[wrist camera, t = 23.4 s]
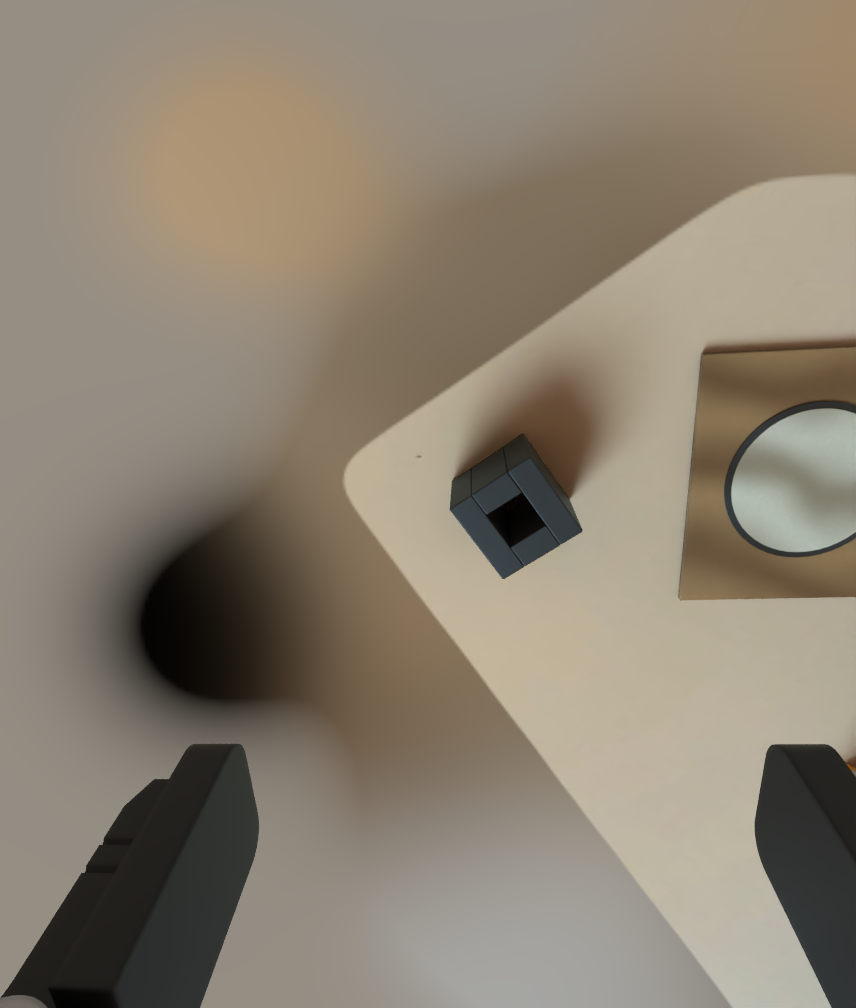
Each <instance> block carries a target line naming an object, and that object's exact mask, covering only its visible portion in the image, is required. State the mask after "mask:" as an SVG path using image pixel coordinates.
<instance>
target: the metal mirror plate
mask: <svg viewBox="0 0 856 1008" xmlns="http://www.w3.org/2000/svg"><path fill="white" fill-rule="evenodd" d="M817 597H856V346H846V347H826V348H806V349H786V350H767V351H747V352H727V353H707V354H701V363H700V373H699V384H698V394H697V405H696V415H695V426H694V436H693V447H692V458H691V468H690V479H689V489H688V500H687V510H686V521H685V531H684V542H683V552H682V563H681V573H680V584H679V595H678V598H679V599H680V600H716V599H767V598H817Z"/></svg>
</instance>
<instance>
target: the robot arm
mask: <svg viewBox="0 0 856 1008" xmlns="http://www.w3.org/2000/svg"><path fill="white" fill-rule="evenodd" d="M258 833H259V819H258V812H257V807H256V803H255V798H254V793H253V788H252V783H251V778H250V773H249V769H248V764H247V759H246V754H245V751H244V748H243V747H242V745H240V744H193V745H191V746H189V748H188V749H187V750H186V751H185V753H184V755H183V756H182V758H181V760H180V761H179V763H178V765H177V767H176V768H175V770H174V772H173V773H172V775H171V777H170V779H167V780H166V779H154V780H153V781H152V782H151V783H150V784H149V785H147V786H146V787H145V788H144V789H143V790H142V791H141V792H140V793H139V794H137V795H136V796H135V797H134V798H133V799H132V800H131V801H130V802H129V803H127V804H126V805H125V806H124V808H123V809H122V811H121V812H120V814H119V815H118V817H117V818H116V820H115V822H114V823H113V825H112V826H111V828H110V830H109V831H108V833H107V834H106V836H105V837H104V842H103V845H99V847H98V848H97V850H96V851H95V853H94V855H93V856H92V858H91V859H90V861H89V862H88V864H87V865H86V872H85V873H81V875H80V876H79V878H78V880H77V881H76V883H75V885H74V886H73V887H72V889H71V891H70V892H69V894H68V895H67V897H66V898H65V900H64V902H63V903H62V905H61V906H60V908H59V909H58V911H57V912H56V914H55V916H54V917H53V919H52V920H51V922H50V924H49V925H48V927H47V928H46V930H45V931H44V933H43V935H42V936H41V938H40V940H39V941H38V942H37V944H36V945H35V947H34V949H33V950H32V952H31V953H30V955H29V956H28V958H27V959H26V961H25V963H24V964H23V966H22V967H21V969H20V971H19V972H18V974H17V975H16V977H15V979H14V980H13V981H12V983H11V984H10V986H9V987H8V989H7V990H6V991H5V993H4V994H3V995H2V997H1V998H0V1008H200V1006H201V1003H202V1000H203V998H204V995H205V992H206V989H207V987H208V984H209V981H210V978H211V976H212V973H213V970H214V967H215V965H216V962H217V959H218V956H219V954H220V951H221V948H222V945H223V943H224V940H225V937H226V934H227V932H228V929H229V926H230V923H231V921H232V917H233V915H234V912H235V910H236V907H237V904H238V901H239V899H240V896H241V893H242V890H243V887H244V885H245V882H246V879H247V877H248V874H249V871H250V868H251V866H252V863H253V860H254V857H255V852H256V848H257V842H258ZM755 837H756V843H757V848H758V852H759V856H760V859H761V862H762V865H763V867H764V869H765V872H766V874H767V876H768V878H769V880H770V882H771V884H772V886H773V888H774V890H775V892H776V894H777V896H778V898H779V900H780V902H781V904H782V907H783V909H784V911H785V913H786V915H787V917H788V919H789V921H790V923H791V925H792V927H793V929H794V931H795V933H796V935H797V937H798V939H799V941H800V943H801V946H802V948H803V950H804V952H805V954H806V956H807V958H808V960H809V962H810V964H811V966H812V968H813V970H814V972H815V974H816V976H817V978H818V980H819V982H820V985H821V987H822V989H823V991H824V993H825V995H826V997H827V999H828V1001H829V1003H830V1005H831V1007H832V1008H856V776H855V775H854V774H853V772H852V771H851V770H850V768H849V767H848V766H847V764H846V763H845V762H844V760H843V759H842V758H841V756H840V755H839V754H838V753H837V751H836V750H835V749H833V748H832V747H831V746H829V745H826V744H779V745H771V746H770V747H769V748H768V751H767V754H766V758H765V764H764V770H763V776H762V782H761V788H760V794H759V800H758V806H757V811H756V817H755Z"/></svg>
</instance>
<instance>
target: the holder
mask: <svg viewBox="0 0 856 1008" xmlns="http://www.w3.org/2000/svg"><path fill="white" fill-rule="evenodd" d="M521 492H523V494H524V495H525V497H526V498H527V499H528V501H527V502H526V503H524V504H523V505H521V506H520V507H518V508H516V509H515V510H513V511H512V512H510V513H509V514H507V515H505V514H504V512H503V511H502V510H501V508H500V506H501V505H503V504H505V503H506V502H508V501H509V500H511V499H512V498H514V497H515V496H517V495H519V494H520V493H521ZM450 511H451V512H452V513H453V515H454V516H455V517H456V519H457V520H458V521H459V522H460V524H461V525H462V526H463V528H464V529H465V530H466V532H467V533H468V534H469V536H470V537H471V538H472V539H473V541H474V542H475V543H476V545H477V546H478V547H479V549H480V550H481V551H482V553H483V554H484V555H485V556H486V558H487V559H488V560H489V562H490V563H491V564H492V566H493V567H494V568H495V570H496V571H497V572H498V573H499V575H500V576H501V577H502V579H505V578H506V577H508V576H510V575H511V574H513V573H515V572H516V571H518V570H520V569H521V568H523V567H524V566H526V565H528V564H530V563H531V562H533V561H535V560H536V559H538V558H540V557H541V556H543V555H545V554H546V553H548V552H550V551H551V550H553V549H555V548H556V547H558V546H559V545H560V544H563V543H564V542H566V541H567V540H569V539H571V538H572V537H574V536H576V535H577V534H579V533H581V532H582V528H581V526H580V523H579V521H578V519H577V516H576V514H575V511H574V509H573V507H572V504H571V502H570V500H569V498H568V497H567V495H566V494H565V493H564V491H563V490H562V488H561V487H560V485H559V484H558V482H557V481H556V480H555V478H554V477H553V475H552V474H551V472H550V471H549V470H548V468H547V467H546V465H545V464H544V462H543V461H542V460H541V458H540V457H539V455H538V454H537V452H536V451H535V449H534V448H533V447H532V445H531V444H530V442H529V441H528V439H527V438H526V437H525V435H524V434H521V435H520V436H519V437H517V438H516V439H514V440H513V441H511V442H510V443H508V444H507V445H505V446H504V447H503V448H501V449H499V450H498V451H496V452H495V453H493V454H492V455H490V456H489V457H487V458H486V459H484V460H483V461H481V462H480V463H478V464H477V465H475V466H474V467H472V469H469V470H468V471H466V472H465V473H463V474H462V475H460V476H459V477H457V478H456V479H454V480H453V481H452V489H451V501H450Z"/></svg>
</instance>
